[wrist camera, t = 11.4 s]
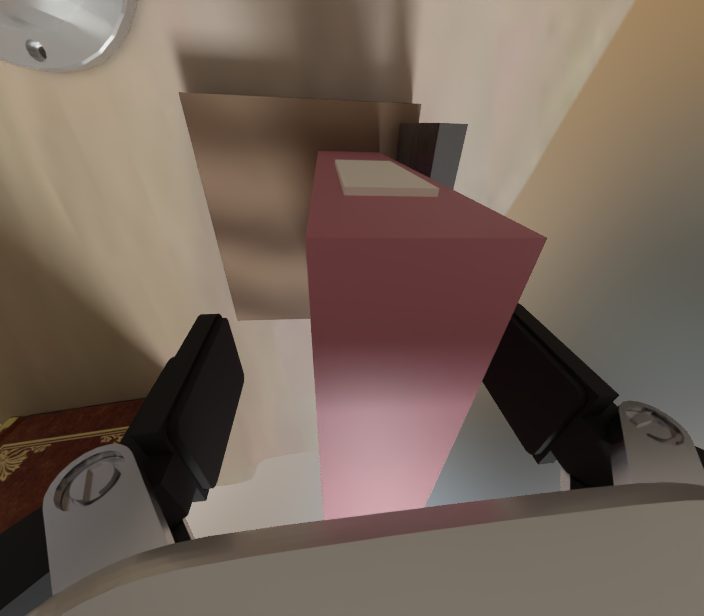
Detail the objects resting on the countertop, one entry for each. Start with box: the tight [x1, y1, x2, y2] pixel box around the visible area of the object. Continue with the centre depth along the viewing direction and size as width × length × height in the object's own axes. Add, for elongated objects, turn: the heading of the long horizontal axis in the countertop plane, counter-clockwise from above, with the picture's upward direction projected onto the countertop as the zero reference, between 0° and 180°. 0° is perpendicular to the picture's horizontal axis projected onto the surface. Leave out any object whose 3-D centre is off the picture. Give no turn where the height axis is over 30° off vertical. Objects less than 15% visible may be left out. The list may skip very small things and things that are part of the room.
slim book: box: [305, 151, 547, 520], centre depth 14 cm, size 12×4×16 cm, turn 178°
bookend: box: [396, 123, 468, 190], centre depth 18 cm, size 14×1×7 cm, turn 178°
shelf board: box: [179, 92, 421, 321], centre depth 21 cm, size 16×14×2 cm
